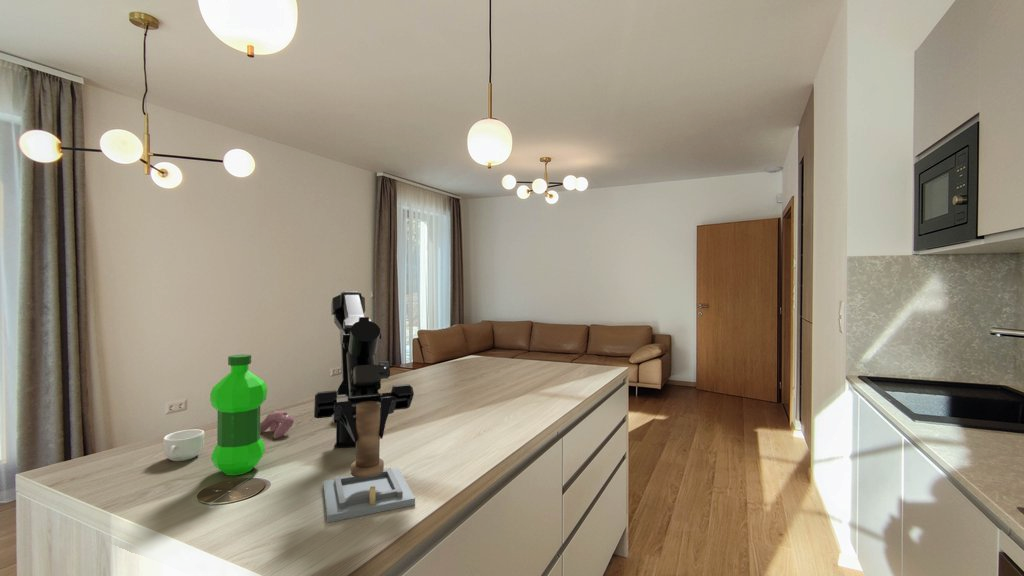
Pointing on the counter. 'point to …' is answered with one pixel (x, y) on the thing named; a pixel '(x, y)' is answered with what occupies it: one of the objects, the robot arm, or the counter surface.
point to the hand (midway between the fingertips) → (368, 439)
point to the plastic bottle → (238, 418)
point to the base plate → (366, 494)
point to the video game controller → (277, 423)
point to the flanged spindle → (367, 441)
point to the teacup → (183, 444)
